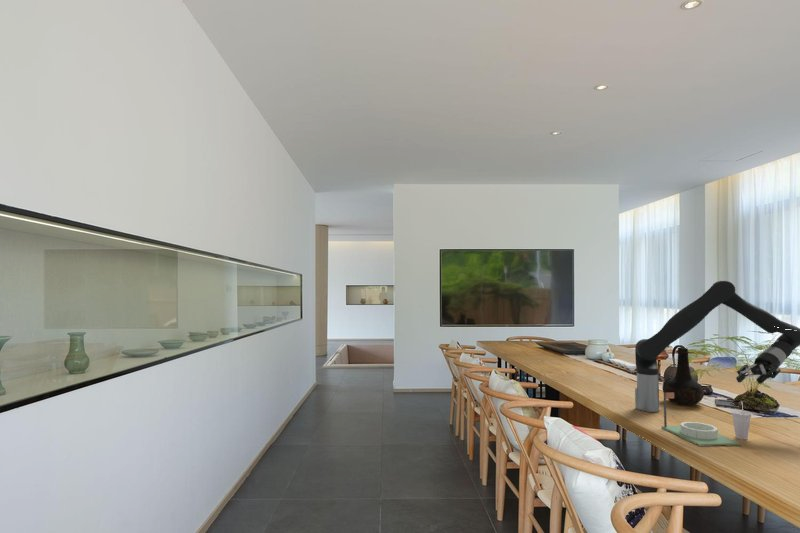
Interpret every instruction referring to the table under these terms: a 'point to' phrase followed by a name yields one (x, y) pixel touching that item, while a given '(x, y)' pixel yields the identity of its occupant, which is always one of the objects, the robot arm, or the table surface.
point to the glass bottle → (683, 383)
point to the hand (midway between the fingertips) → (748, 381)
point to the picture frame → (725, 403)
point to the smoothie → (741, 423)
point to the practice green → (697, 430)
